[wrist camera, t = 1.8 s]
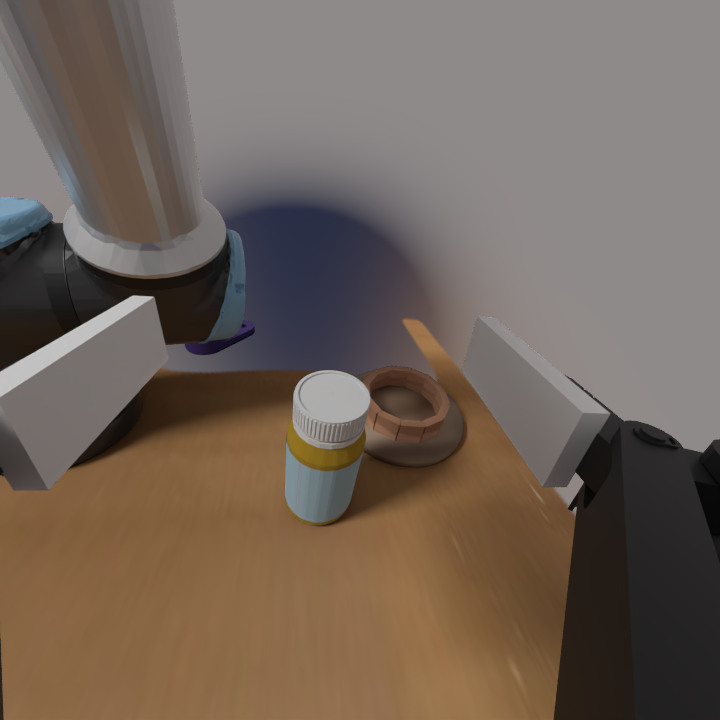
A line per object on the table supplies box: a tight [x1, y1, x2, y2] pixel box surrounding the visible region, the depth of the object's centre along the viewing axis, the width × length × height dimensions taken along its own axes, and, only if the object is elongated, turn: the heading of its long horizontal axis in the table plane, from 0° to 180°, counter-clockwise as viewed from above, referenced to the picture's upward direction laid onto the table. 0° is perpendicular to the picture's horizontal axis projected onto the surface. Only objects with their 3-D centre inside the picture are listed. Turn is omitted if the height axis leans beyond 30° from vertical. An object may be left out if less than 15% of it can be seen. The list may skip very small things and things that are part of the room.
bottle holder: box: [356, 366, 464, 467], centre depth 45 cm, size 18×18×4 cm
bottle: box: [285, 370, 370, 525], centre depth 30 cm, size 7×7×15 cm
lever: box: [185, 320, 255, 355], centre depth 54 cm, size 12×6×3 cm, turn 138°
